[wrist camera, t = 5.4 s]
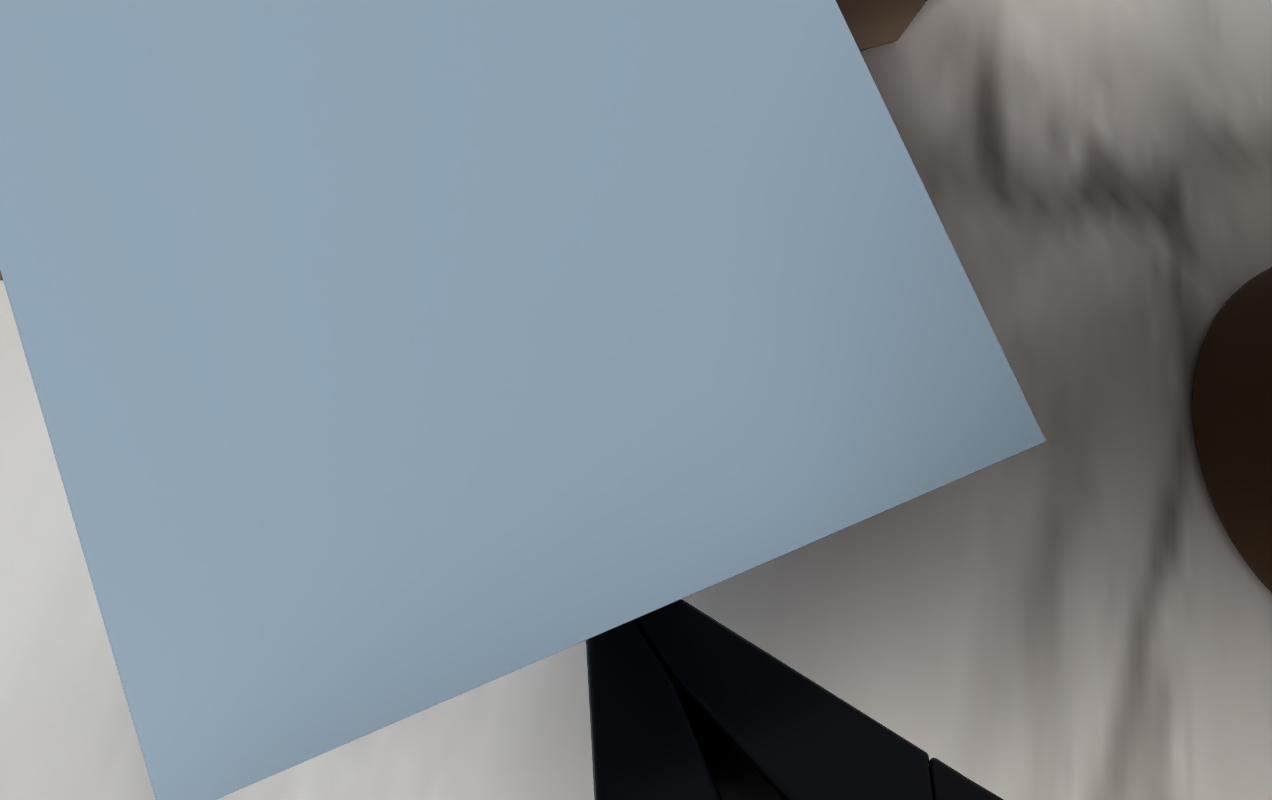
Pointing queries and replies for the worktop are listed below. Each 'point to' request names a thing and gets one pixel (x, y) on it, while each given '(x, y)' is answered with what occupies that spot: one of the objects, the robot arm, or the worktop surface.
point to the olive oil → (1239, 420)
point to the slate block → (459, 334)
